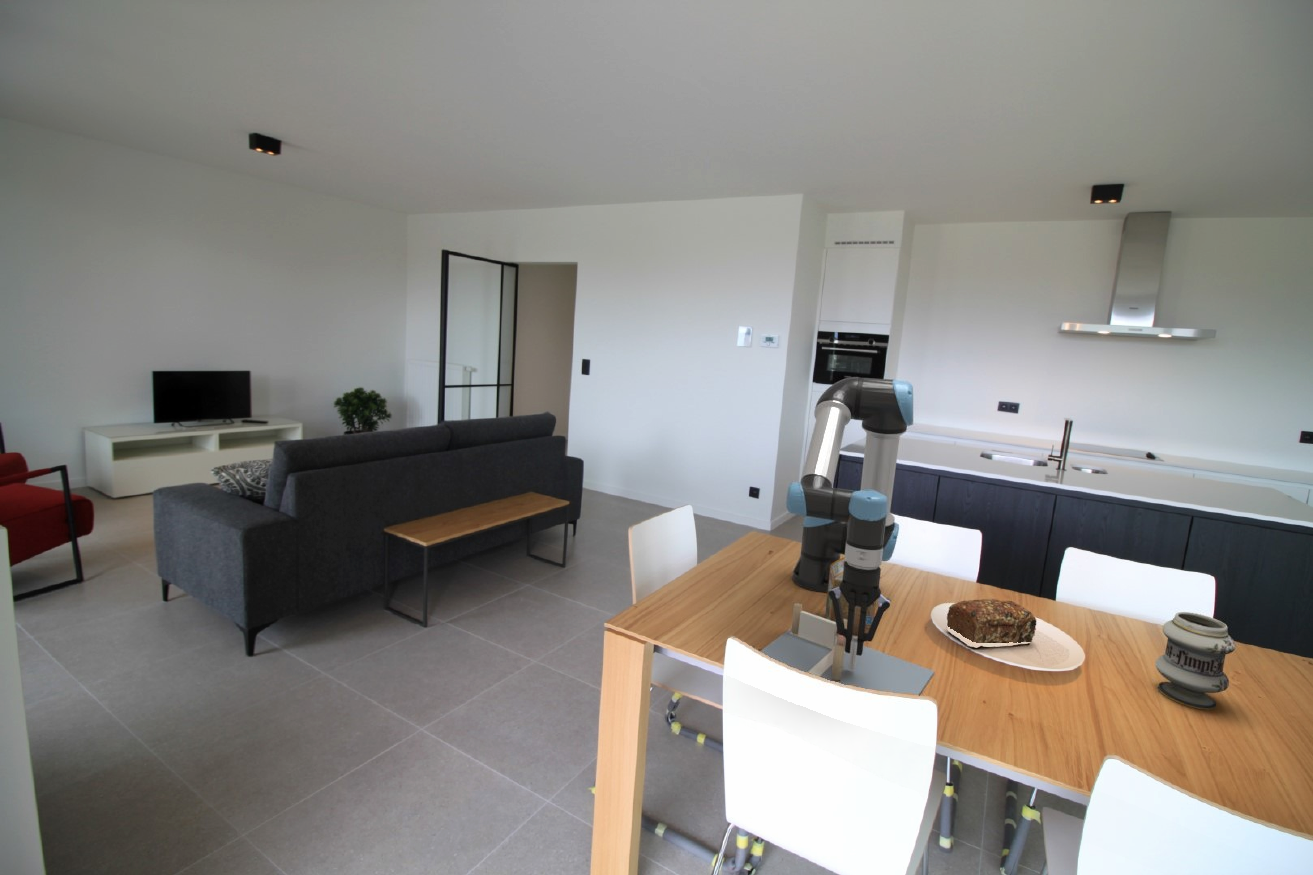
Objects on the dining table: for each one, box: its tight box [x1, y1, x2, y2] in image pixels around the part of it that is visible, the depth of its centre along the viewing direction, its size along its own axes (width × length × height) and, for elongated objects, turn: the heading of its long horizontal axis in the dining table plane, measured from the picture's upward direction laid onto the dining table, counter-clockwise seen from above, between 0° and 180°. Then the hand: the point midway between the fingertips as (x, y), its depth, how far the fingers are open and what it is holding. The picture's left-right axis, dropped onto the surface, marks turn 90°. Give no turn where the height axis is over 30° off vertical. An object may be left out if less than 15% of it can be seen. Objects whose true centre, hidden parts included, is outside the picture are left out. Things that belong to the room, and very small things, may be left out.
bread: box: [946, 598, 1037, 643], centre depth 153 cm, size 19×11×10 cm, turn 103°
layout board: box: [760, 627, 935, 696], centre depth 136 cm, size 22×33×1 cm, turn 51°
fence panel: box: [831, 627, 846, 680], centre depth 134 cm, size 14×2×7 cm, turn 160°
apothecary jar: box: [1155, 611, 1236, 711], centre depth 130 cm, size 12×12×18 cm
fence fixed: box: [790, 602, 847, 651], centre depth 145 cm, size 2×14×7 cm, turn 52°
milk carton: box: [824, 556, 877, 637], centre depth 155 cm, size 11×11×19 cm
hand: (852, 666), depth 131 cm, fingers closed
